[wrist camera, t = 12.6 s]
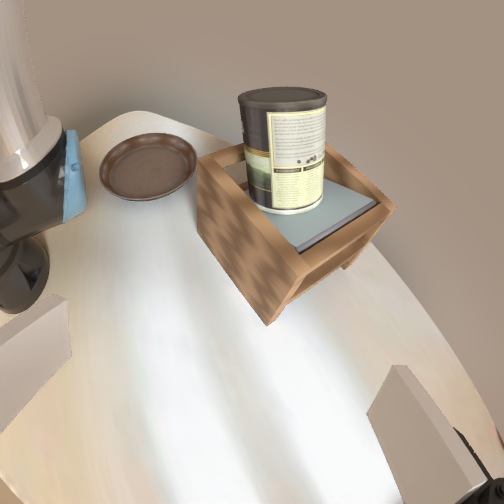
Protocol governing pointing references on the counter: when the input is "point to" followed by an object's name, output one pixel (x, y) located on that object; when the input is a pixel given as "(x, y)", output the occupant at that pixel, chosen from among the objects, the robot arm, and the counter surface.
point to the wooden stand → (277, 233)
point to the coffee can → (284, 147)
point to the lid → (321, 216)
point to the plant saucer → (148, 166)
